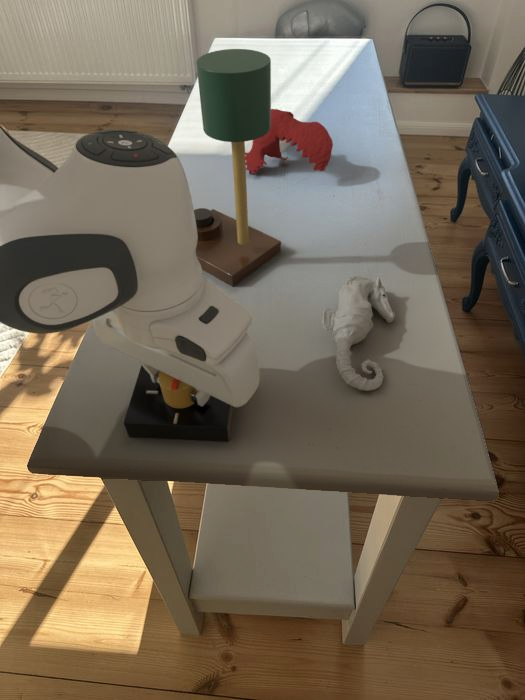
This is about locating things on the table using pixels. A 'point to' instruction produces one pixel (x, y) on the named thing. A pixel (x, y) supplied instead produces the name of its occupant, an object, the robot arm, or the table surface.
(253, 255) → the lamp base
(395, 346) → the table surface
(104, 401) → the table surface
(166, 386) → the dimmer knob
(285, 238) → the table surface
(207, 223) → the button
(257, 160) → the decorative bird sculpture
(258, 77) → the lamp
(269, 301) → the table surface
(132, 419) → the dimmer
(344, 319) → the seahorse
